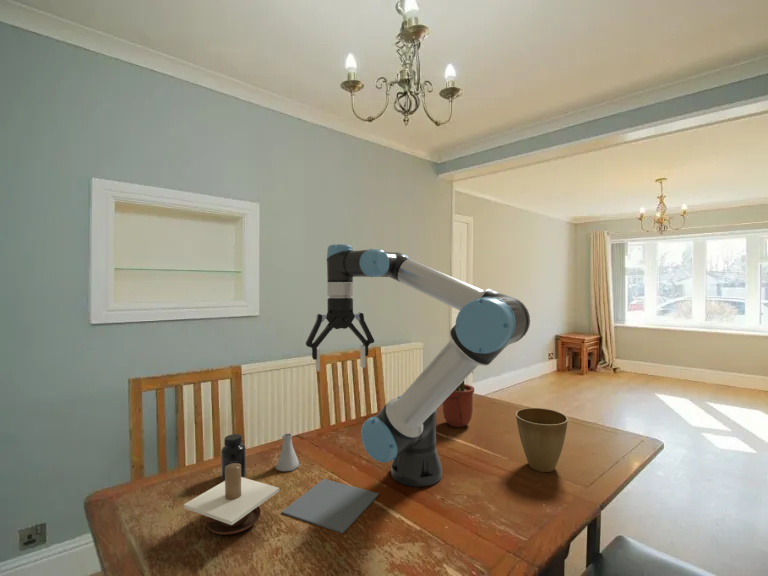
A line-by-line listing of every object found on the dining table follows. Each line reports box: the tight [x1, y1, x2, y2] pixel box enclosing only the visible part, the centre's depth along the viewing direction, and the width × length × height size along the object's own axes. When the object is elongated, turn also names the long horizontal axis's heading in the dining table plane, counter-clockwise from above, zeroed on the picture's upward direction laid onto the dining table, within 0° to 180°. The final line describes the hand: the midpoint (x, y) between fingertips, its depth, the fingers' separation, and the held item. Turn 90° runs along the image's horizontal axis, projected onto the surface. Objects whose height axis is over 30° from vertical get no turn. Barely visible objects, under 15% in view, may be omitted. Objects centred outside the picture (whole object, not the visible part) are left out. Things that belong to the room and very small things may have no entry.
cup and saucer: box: [205, 505, 261, 536], centre depth 93 cm, size 12×12×6 cm
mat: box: [281, 478, 380, 534], centre depth 101 cm, size 18×18×1 cm
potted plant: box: [442, 370, 475, 428], centre depth 158 cm, size 17×16×35 cm
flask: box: [275, 432, 300, 472], centre depth 122 cm, size 7×7×10 cm
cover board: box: [183, 463, 280, 525], centre depth 93 cm, size 15×15×8 cm
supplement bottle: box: [220, 433, 247, 482], centre depth 115 cm, size 7×7×12 cm
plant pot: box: [515, 407, 569, 473], centre depth 121 cm, size 15×15×16 cm
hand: (340, 368), depth 116 cm, fingers open, 13 cm apart
